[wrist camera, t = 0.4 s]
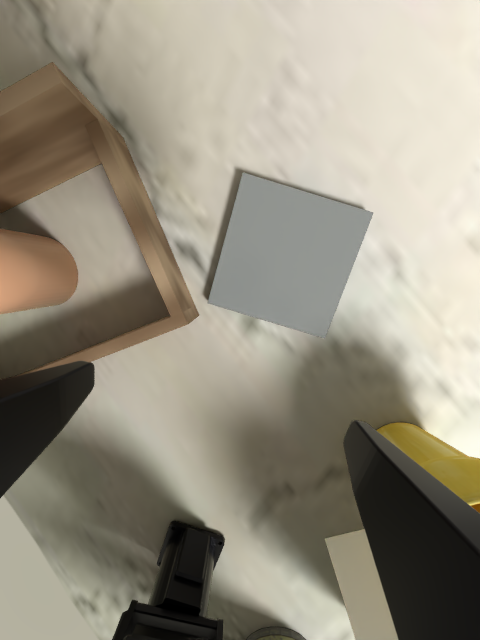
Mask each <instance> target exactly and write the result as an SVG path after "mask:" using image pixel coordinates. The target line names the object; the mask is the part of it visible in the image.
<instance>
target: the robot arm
mask: <svg viewBox="0 0 480 640" xmlns="http://www.w3.org/2000/svg"><path fill="white" fill-rule="evenodd" d="M93 387H94V364H93V363H91V362H86V361H76V362H72V363H68V364H64V365H59V366H55V367H51V368H47V369H43V370H39V371H35V372H31V373H27V374H23V375H19V376H14V377H10V378H6V379H2V380H0V498H1V497H2V496H3V495H4V494H5V492H6V491H7V490H8V489H9V488H10V487H11V486H12V485H13V484H14V483H15V481H16V480H17V479H18V478H19V477H20V476H21V475H22V474H23V473H24V471H25V470H26V469H27V468H28V467H29V466H30V465H31V464H32V463H33V462H34V460H35V459H36V458H37V457H38V456H39V455H40V454H41V453H42V452H43V451H44V449H45V448H46V447H47V446H48V445H49V444H50V443H51V442H52V441H53V439H54V438H55V437H56V436H57V435H58V434H59V433H60V431H61V430H62V429H63V428H64V427H65V425H66V424H67V423H68V421H69V420H70V419H71V418H72V416H73V415H74V414H75V412H76V411H77V410H78V408H79V407H80V406H81V404H82V403H83V402H84V400H85V399H86V398H87V396H88V395H89V394H90V392H91V391H92V389H93ZM344 449H345V454H346V459H347V464H348V469H349V473H350V478H351V483H352V488H353V492H354V496H355V499H356V503H357V506H358V509H359V513H360V516H361V519H362V522H363V526H364V529H365V532H366V535H367V539H368V542H369V545H370V548H371V552H372V555H373V558H374V562H375V565H376V568H377V571H378V575H379V578H380V581H381V584H382V588H383V591H384V594H385V597H386V601H387V604H388V607H389V610H390V614H391V617H392V620H393V624H394V627H395V630H396V633H397V637H398V640H480V513H479V512H477V511H476V510H475V509H474V508H472V507H471V506H470V505H469V504H467V503H466V502H465V501H464V500H462V499H461V498H460V497H459V496H457V495H456V494H455V493H454V492H452V491H451V490H450V489H449V488H447V487H446V486H445V485H444V484H442V483H441V482H440V481H439V480H437V479H436V478H435V477H434V476H432V475H431V474H430V473H429V472H427V471H426V470H425V469H424V468H422V467H421V466H420V465H419V464H417V463H416V462H415V461H414V460H413V459H411V458H410V457H409V456H408V455H406V454H405V453H404V452H403V451H401V450H400V449H399V448H398V447H396V446H395V445H394V444H393V443H391V442H390V441H389V440H388V439H386V438H385V437H384V436H383V435H381V434H380V433H379V432H378V431H376V430H375V429H374V428H373V427H371V426H370V425H369V424H368V423H366V422H362V421H357V420H353V421H352V422H351V424H350V426H349V428H348V431H347V433H346V435H345V438H344ZM224 542H225V538H224V537H223V536H220V535H217V534H214V533H211V532H208V531H204V530H201V529H198V528H195V527H192V526H189V525H186V524H183V523H180V522H176V521H172V522H171V523H170V526H169V529H168V532H167V535H166V538H165V541H164V543H163V546H162V549H161V552H160V555H159V558H158V561H157V565H158V566H159V567H160V568H159V571H158V575H157V578H156V581H155V584H154V587H153V591H152V594H151V597H150V600H149V603H148V605H147V604H143V603H138V601H136V600H132V601H131V604H130V606H129V609H128V610H127V611H125V612H123V613H122V616H121V618H120V621H119V624H118V626H117V629H116V631H115V634H114V636H113V639H112V640H222V638H223V620H222V619H217V620H215V619H211V618H207V612H208V605H209V597H210V589H211V581H212V574H213V570H214V568H215V566H216V563H217V561H218V558H219V556H220V553H221V551H222V549H223V546H224Z"/></svg>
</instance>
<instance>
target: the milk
mask: <svg viewBox="0 0 480 640" xmlns="http://www.w3.org/2000/svg"><path fill="white" fill-rule="evenodd" d="M325 542H326V545H327V548H328V551H329V555H330V558H331V561H332V564H333V568H334V571H335V574H336V577H337V581H338V584H339V587H340V590H341V594H342V597H343V600H344V603H345V607H346V610H347V613H348V616H349V620H350V623H351V626H352V629H353V633H354V636H355V639H356V640H398V637H397V633H396V630H395V627H394V624H393V620H392V617H391V614H390V610H389V607H388V604H387V601H386V597H385V594H384V591H383V588H382V584H381V581H380V578H379V575H378V571H377V568H376V565H375V562H374V558H373V555H372V552H371V548H370V545H369V542H368V539H367V535H366V532H365V529H362V530H358V531H354V532H350V533H346V534H342V535H337V536H333V537H329V538H325Z"/></svg>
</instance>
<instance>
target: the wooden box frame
mask: <svg viewBox="0 0 480 640" xmlns="http://www.w3.org/2000/svg"><path fill="white" fill-rule="evenodd" d="M101 163H102V165H103V167H104V169H105V172H106V174H107V176H108V178H109V181H110V183H111V185H112V187H113V189H114V192H115V194H116V196H117V198H118V201H119V203H120V205H121V207H122V209H123V212H124V214H125V216H126V218H127V221H128V223H129V225H130V227H131V229H132V232H133V234H134V236H135V238H136V241H137V243H138V245H139V247H140V249H141V252H142V254H143V256H144V258H145V261H146V263H147V265H148V267H149V269H150V272H151V274H152V276H153V278H154V281H155V283H156V285H157V287H158V289H159V292H160V294H161V296H162V298H163V301H164V303H165V305H166V307H167V309H168V312H169V314H170V316H167V317H165V318H162V319H159V320H157V321H154V322H152V323H149V324H147V325H144V326H142V327H139V328H137V329H134V330H131V331H129V332H126V333H124V334H121V335H119V336H116V337H114V338H111V339H109V340H106V341H104V342H101V343H98V344H96V345H93V346H91V347H88V348H86V349H83V350H81V351H78V352H76V353H73V354H71V355H68V356H65V357H63V358H60V359H58V360H55V361H53V362H50V363H48V364H45V365H43V366H40V367H37V368H35V369H32V370H30V371H27V372H25V373H22V374H20V375H23V374H27V373H31V372H35V371H39V370H43V369H47V368H51V367H55V366H59V365H64V364H68V363H72V362H76V361H86V362H91V361H94V360H97V359H99V358H102V357H104V356H107V355H110V354H112V353H115V352H117V351H120V350H123V349H125V348H128V347H130V346H133V345H136V344H138V343H141V342H143V341H146V340H149V339H151V338H154V337H156V336H159V335H162V334H164V333H167V332H169V331H172V330H175V329H177V328H180V327H182V326H185V325H187V324H189V323H190V322H191V321H193V320H194V319H195V318H197V317H198V316H199V314H198V311H197V309H196V307H195V304H194V302H193V300H192V297H191V295H190V293H189V290H188V288H187V286H186V283H185V281H184V279H183V276H182V274H181V272H180V269H179V267H178V265H177V262H176V260H175V258H174V255H173V253H172V251H171V248H170V246H169V244H168V241H167V239H166V237H165V234H164V232H163V230H162V227H161V225H160V223H159V220H158V218H157V216H156V213H155V211H154V209H153V206H152V204H151V202H150V199H149V197H148V195H147V192H146V190H145V188H144V185H143V183H142V181H141V178H140V176H139V174H138V171H137V169H136V167H135V164H134V162H133V160H132V157H131V155H130V153H129V150H128V148H127V146H126V143H125V141H124V139H123V137H122V136H121V135H120V134H119V133H118V132H117V131H116V129H115V128H114V127H113V126H112V125H111V124H110V123H109V122H108V121H107V120H106V119H105V118H104V117H103V116H102V114H101V113H100V112H99V111H98V110H97V109H96V108H95V107H94V106H93V105H92V104H91V103H90V102H89V101H88V100H87V98H86V97H85V96H84V95H83V94H82V93H81V92H80V91H79V90H78V89H77V88H76V87H75V86H74V85H73V84H72V82H71V81H70V80H69V79H68V78H67V77H66V76H65V75H64V74H63V73H62V72H61V71H60V70H59V69H58V67H57V66H56V65H55V64H54V63H53V62H52V63H50V64H48V65H46V66H45V67H43V68H41V69H39V70H37V71H36V72H34V73H32V74H30V75H29V76H27V77H25V78H23V79H22V80H20V81H18V82H16V83H15V84H13V85H11V86H9V87H7V88H6V89H4V90H2V91H0V213H2V212H4V211H6V210H8V209H10V208H12V207H14V206H16V205H18V204H20V203H22V202H24V201H26V200H28V199H30V198H32V197H34V196H37V195H39V194H41V193H43V192H45V191H47V190H49V189H51V188H53V187H55V186H57V185H59V184H61V183H63V182H65V181H67V180H69V179H71V178H73V177H75V176H77V175H79V174H81V173H83V172H85V171H87V170H89V169H91V168H93V167H95V166H97V165H99V164H101ZM17 376H19V375H17Z"/></svg>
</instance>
